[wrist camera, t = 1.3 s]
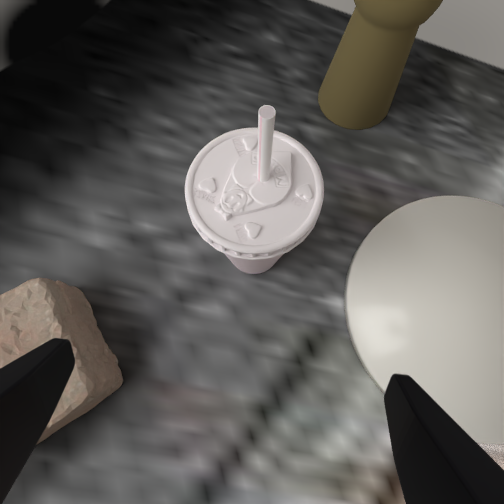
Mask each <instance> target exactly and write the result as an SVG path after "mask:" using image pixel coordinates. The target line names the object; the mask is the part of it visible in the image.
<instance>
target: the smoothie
mask: <svg viewBox="0 0 504 504" xmlns="http://www.w3.org/2000/svg"><path fill="white" fill-rule="evenodd" d="M274 123H275V109H274V108H273V107H272V106H269V105H264V106H262V107H261V108H260V109H259V114H258V128H243V129H238V130H234V131H230V132H228V133H225V134H223V135H221V136H219V137H217V138H215V139H214V140H212V141H211V142H210V143H208V144H207V145H206V146H205V147H204V148H203V149H202V150H201V151H200V152H199V153H198V154H197V156H196V157H195V159H194V160H193V162H192V164H191V166H190V168H189V171H188V173H187V177H186V183H185V199H186V204H187V208H188V212H189V215H190V218H191V220H192V223H193V226H194V227H195V228H196V230H197V231H198V233H199V234H200V235H201V237H202V238H203V239H204V240H205V241H206V242H207V243H209V244H210V245H211V246H213V247H214V248H215V249H216V250H218V251H220V252H223V253H225V255H226V256H227V257H228V258H229V259H230V261H231V262H232V263H233V264H234V265H235V266H236V267H237V268H238V269H239V270H241V271H243V272H245V273H249V274H259V273H263V272H265V271H267V270H269V269H270V268H271V267H272V266H273V265H274V264H275V263H276V262H277V261H278V259H279V258H280V257H281V256H282V255H283V254H284V253H287V252H289V251H290V250H292V249H293V248H294V247H296V246H297V245H299V244H300V243H301V242H303V241H304V239H305V238H306V237H307V236H308V234H309V233H310V232H311V231H312V229H313V228H314V226H315V224H316V221H317V219H318V216H319V214H320V210H321V207H322V203H323V197H324V184H323V178H322V174H321V171H320V169H319V166H318V164H317V162H316V161H315V159H314V158H313V156H312V155H311V153H310V152H309V151H308V150H307V149H306V148H305V147H304V146H303V145H302V144H300V143H299V142H298V141H296V140H295V139H293V138H292V137H290V136H288V135H286V134H283V133H281V132H278V131H275V130H274Z"/></svg>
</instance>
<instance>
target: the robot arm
mask: <svg viewBox="0 0 504 504" xmlns="http://www.w3.org/2000/svg"><path fill="white" fill-rule="evenodd" d="M74 366H75V357H74V353H73V349H72V345H71V342H70V341H69V340H68V339H62V338H53V339H51V340H49V341H47V342H45V343H44V344H42V345H40V346H38V347H37V348H35V349H33V350H31V351H30V352H28V353H26V354H24V355H23V356H21V357H19V358H17V359H16V360H14V361H12V362H10V363H9V364H7V365H5V366H4V367H2V368H0V504H2V503H3V501H4V499H5V498H6V496H7V494H8V492H9V491H10V489H11V487H12V485H13V484H14V482H15V480H16V479H17V477H18V475H19V473H20V472H21V470H22V468H23V466H24V465H25V463H26V461H27V460H28V458H29V456H30V454H31V453H32V451H33V449H34V448H35V446H36V444H37V442H38V441H39V439H40V437H41V435H42V434H43V432H44V430H45V429H46V427H47V425H48V423H49V421H50V419H51V417H52V415H53V413H54V411H55V409H56V407H57V404H58V402H59V400H60V398H61V396H62V394H63V391H64V389H65V387H66V385H67V383H68V380H69V378H70V376H71V374H72V372H73V369H74ZM384 403H385V409H386V415H387V421H388V427H389V433H390V439H391V445H392V451H393V456H394V461H395V465H396V469H397V473H398V476H399V480H400V484H401V487H402V491H403V495H404V498H405V502H406V504H504V470H503V469H502V468H501V467H500V466H499V465H498V464H497V463H496V462H495V461H494V460H493V459H492V458H491V457H490V456H489V455H488V454H487V453H486V452H485V451H484V450H483V449H482V448H481V447H480V446H479V445H478V444H477V443H476V442H475V441H474V440H473V439H472V438H471V437H470V436H469V435H468V434H467V433H466V432H465V431H464V430H463V429H462V428H461V427H460V426H459V425H458V424H457V423H456V422H455V421H454V420H453V419H452V418H451V417H450V416H449V415H448V414H447V413H446V412H445V411H444V410H443V409H442V408H441V407H440V406H439V405H438V404H437V403H436V402H435V401H434V400H433V399H432V397H431V396H430V395H429V394H428V393H427V392H426V391H425V390H424V389H423V388H422V387H421V386H420V385H419V384H418V383H417V382H416V381H415V380H414V379H413V378H412V377H410V376H409V375H406V374H396V373H395V374H393V375H392V376H391V378H390V381H389V383H388V386H387V388H386V391H385V395H384Z"/></svg>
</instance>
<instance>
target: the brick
mask: <svg viewBox="0 0 504 504" xmlns="http://www.w3.org/2000/svg"><path fill="white" fill-rule="evenodd" d="M53 338H62V339H68V340H69V341H70V342H71V345H72V349H73V353H74V357H75V366H74V369H73V372H72V374H71V376H70V378H69V380H68V383H67V385H66V387H65V389H64V391H63V394H62V396H61V398H60V400H59V402H58V404H57V407H56V409H55V411H54V413H53V415H52V417H51V419H50V421H49V423H48V425H47V427H46V429H45V430H44V432H43V434H42V435H41V437H40V439H39V441H38V442H37V444H39V443H40V442H42V441H43V440H45V439H46V438H48V437H49V436H50V435H52V434H53V433H54V432H56V431H57V430H59V429H60V428H62V427H63V426H65V425H66V424H68V423H70V422H71V421H73V420H74V419H76V418H78V417H80V416H81V415H83V414H85V413H87V412H88V411H90V410H91V409H92V408H94V407H95V406H96V405H97V404H98V403H100V402H101V401H102V400H104V399H105V398H106V397H108V396H109V395H111V394H112V393H113V392H114V391H116V390H117V389H119V387H120V386H121V385H122V382H123V378H122V373H121V370H120V368H119V367H118V360H117V358H116V356H115V355H114V354H113V353H112V352H111V350H110V349H109V348H108V344H106V343H105V342H104V338H103V337H102V333H101V331H100V330H99V328H98V327H97V321H96V319H95V317H94V316H93V311H92V308H91V305H90V303H89V302H88V301H87V299H86V298H85V296H84V294H83V292H82V291H81V290H79V289H78V288H77V287H74V286H68V285H67V284H65V283H63V282H61V281H55V282H54V281H52V280H50V279H45V278H35V279H31V280H28V281H26V282H25V283H23V284H21V285H20V286H18V287H16V288H14V289H12V290H10V291H8V292H6V293H4V294H2V295H0V368H2V367H4V366H5V365H7V364H9V363H10V362H12V361H14V360H16V359H17V358H19V357H21V356H23V355H24V354H26V353H28V352H30V351H31V350H33V349H35V348H37V347H38V346H40V345H42V344H44V343H45V342H47V341H49V340H51V339H53ZM37 444H36V445H37Z"/></svg>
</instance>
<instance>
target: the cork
mask: <svg viewBox="0 0 504 504" xmlns="http://www.w3.org/2000/svg"><path fill="white" fill-rule="evenodd" d="M442 1H443V0H354V2H355V5H356V7H355V10H354V12H353V14H352V16H351V19H350V21H349V23H348V26H347V28H346V30H345V33H344V35H343V37H342V39H341V42H340V44H339V46H338V49H337V51H336V53H335V55H334V58H333V60H332V62H331V65H330V67H329V69H328V71H327V74H326V76H325V78H324V81H323V83H322V85H321V88H320V90H319V95H318V102H319V105H320V108H321V110H322V112H323V113H324V114H325V116H326V117H327V118H328V119H329V120H331V121H332V122H333V123H335V124H336V125H339V126H341V127H344V128H347V129H356V130H361V129H366V128H371V127H373V126H375V125H377V124H378V123H380V122H381V121H382V120H383V119H384V118H385V117H386V116H387V113H388V111H389V108H390V105H391V103H392V100H393V97H394V94H395V92H396V89H397V86H398V83H399V80H400V78H401V75H402V72H403V69H404V67H405V64H406V61H407V58H408V56H409V53H410V50H411V47H412V44H413V42H414V39H415V36H416V33H417V31H418V28H419V25H421V24H422V23H424V22H425V21H426V20H427V19H428V18H429V17H430V16H431V15H432V14H433V13H434V12H435V11H436V10H437V8H438V7H439V6H440V4H441V3H442Z"/></svg>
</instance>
